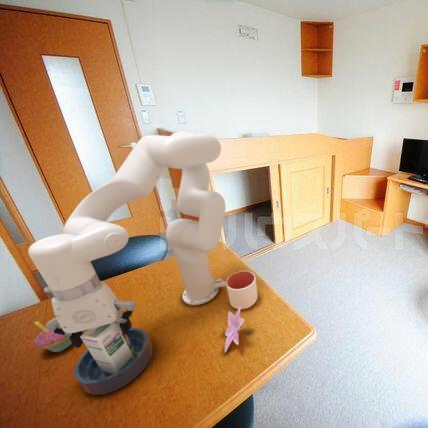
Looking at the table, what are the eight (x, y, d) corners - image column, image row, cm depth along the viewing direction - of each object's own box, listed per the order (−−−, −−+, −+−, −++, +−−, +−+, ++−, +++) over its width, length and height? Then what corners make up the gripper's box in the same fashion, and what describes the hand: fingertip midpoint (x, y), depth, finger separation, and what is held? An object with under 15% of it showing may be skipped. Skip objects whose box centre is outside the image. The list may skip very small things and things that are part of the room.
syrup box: (119, 376, 63) (98, 340, 57) (101, 371, 65) (78, 335, 58) (138, 356, 69) (120, 320, 62) (121, 352, 70) (102, 316, 63)
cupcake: (47, 363, 67) (25, 334, 62) (38, 348, 71) (17, 319, 66) (86, 340, 73) (69, 312, 68) (76, 327, 77) (60, 300, 72)
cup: (262, 293, 92) (260, 273, 88) (250, 313, 84) (246, 292, 79) (239, 289, 94) (235, 268, 90) (224, 308, 86) (220, 287, 81)
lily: (234, 319, 83) (216, 308, 76) (264, 312, 80) (247, 300, 74) (226, 358, 74) (205, 349, 68) (259, 351, 71) (240, 341, 65)
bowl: (158, 333, 76) (153, 321, 74) (146, 381, 63) (140, 368, 61) (97, 350, 71) (89, 338, 68) (71, 407, 58) (60, 394, 55)
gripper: (13, 308, 48) (53, 362, 56) (117, 286, 54) (141, 337, 62) (36, 284, 54) (69, 335, 62) (127, 267, 61) (147, 315, 68)
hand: (105, 336), depth 62 cm, fingers open, 9 cm apart
